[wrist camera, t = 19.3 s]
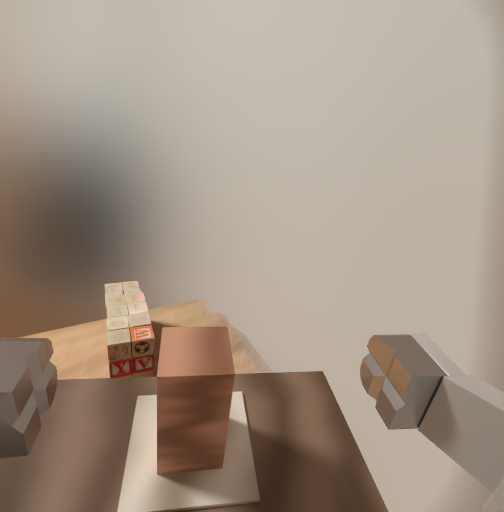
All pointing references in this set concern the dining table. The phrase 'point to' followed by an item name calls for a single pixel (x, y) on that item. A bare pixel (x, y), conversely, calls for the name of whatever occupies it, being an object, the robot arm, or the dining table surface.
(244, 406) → the cubby
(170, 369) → the terracotta block
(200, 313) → the dining table surface
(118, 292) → the stack of blocks
